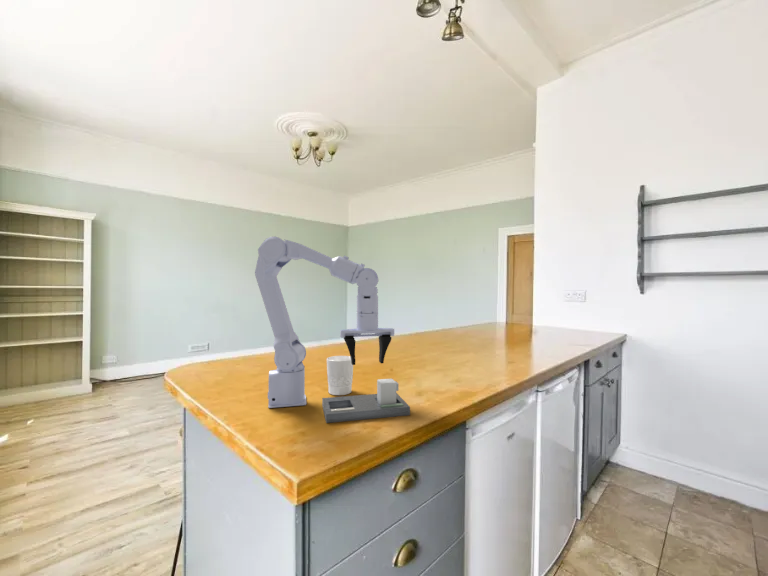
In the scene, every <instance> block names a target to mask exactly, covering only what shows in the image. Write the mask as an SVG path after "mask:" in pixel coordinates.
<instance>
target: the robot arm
mask: <svg viewBox="0 0 768 576" xmlns="http://www.w3.org/2000/svg"><path fill="white" fill-rule="evenodd" d="M257 251H258V252H257V253H258V256H257V261H256V267H255V269H254V276H255V278H256V282H257V285H258V289H259V292H260V295H261V297H262V301H263V304H264V308H265V312H266V313H267V316H268V319H269V323H270V327H271V331H272V333H273V335H274V341H273V350H274V358H273V359H274V361H273V362H274V364H275V366H276V369H273V370H269V372H268V392H267V399H268V405H267V406H268V408H269V409H272V408H284V407H286V408H287V407H299V406H306V405H307V395H306V394H305V391H306V390H305V385H306V384H305V382H306V381H305V379H306V377H305V372H306V371H305V365H304V364H303V361H304V360H305V358H306V356H307V351H306V347H305V346H304V344H303V343H302V342H301V341H300V340H299V336H298V334H296V332H295V330H294V328H293V325H292V321H291V318H290V315H289V312H288V308H287V305H286V302H285V299H284V296H283V293H282V290H281V286H280V283H279V280H278V275H279V273H280V272H281V270H282V269H283V267H285V266H286V265H287V264H288V263H289V262H291V261H292V260H294V261H298V260H302V259H303V260H305V261H308V262H310V263H314V264H316V265H319V266H320V267H323V268H326V269H328V270H329V273H330V275H331V276H332V277H334V278H337V279H339V280H341V281H344V282H346V283H349V284H352V285H354V284H356V286H357V295H356V328H345V329H339V337H340V338H341V339H342V338H343V340H344V342H345V345H346V346H347V350H348V352H349V355H350V357H351V363H352V365H353V366H355V365H356V352H355V351H356V338H358V337H361V338H362V337H363V338H364V337H378V344H379V345H378V348H379V349H378V350H379V351H378V352H379V353H378V361H379V363H380V364H384V361H385V357H386V353H387V350H388V348H389V345H390V344H391V342H392V337H394V336H395V328H393V327H379V296H378V293H379V292H378V291H379V289H378V287H377V285H378V283H379V276H378V274H377V272H376V271H375V270H374V269H372V268H370V267H366V268H365V266H366V265H365V263H361V264H360V263H358V262H355V261H353V260H350V258H349V256H346V255H343V256H341V255H338V256H336V257H331V256H329V255H326V254H324V253H322V252H320V251H317V250H315V249H313V248H311V247H309V246H306V245H304V244H302V243H299V242H296V241H292V240H288V239H282V238H280V237H279V236H276V235H275V236H269V237H267V238H265V239H264V240H263V242H262V243H261V244H260V246H259V247H258V248H257Z"/></svg>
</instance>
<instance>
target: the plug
mask: <svg viewBox="0 0 768 576" xmlns="http://www.w3.org/2000/svg"><path fill="white" fill-rule="evenodd" d="M376 387H377V388H376V389H377V390H376V391H377V393H376V394H377V402H378V403H379V405H383V404H395V403H396V393H397V392H398V391H399V382H397V381H396V380H394V379H393V378H381V379H379V378H378V379H377V381H376Z"/></svg>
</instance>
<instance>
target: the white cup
mask: <svg viewBox="0 0 768 576" xmlns="http://www.w3.org/2000/svg"><path fill="white" fill-rule="evenodd" d="M326 373H327V374H326V375H327V385H328V393H329V394H330V395H333V396H345V395H346V396H347V395H349V394H350V393H352V390H353V388H352V385H353V376H354V374H353V373H354V365H352V363H351V357H350V356H349V355H334V356H333V355H332V356H329V357H327V358H326Z"/></svg>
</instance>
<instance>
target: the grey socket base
mask: <svg viewBox="0 0 768 576" xmlns="http://www.w3.org/2000/svg"><path fill="white" fill-rule="evenodd" d="M321 406H322V410H323V414H324V419H325V423H326V424H328V423H329V424H330V423H339V422H340V423H342V422H350V421H363V420H372V419H381V418H382V419H384V418H394V417H404V416H411V407H410V405H409V404H408V403H407V402H406V401H405V400H404V399H403V398H402V397H401V396H400V395H399V394H398V393H397V392H396V403H395V404H383V405H379V403H378V402H377V393H370V394H360V395H359V394H357V395H346V396H345V395H342V396H335V397H333V396H331V397H322V404H321Z"/></svg>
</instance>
